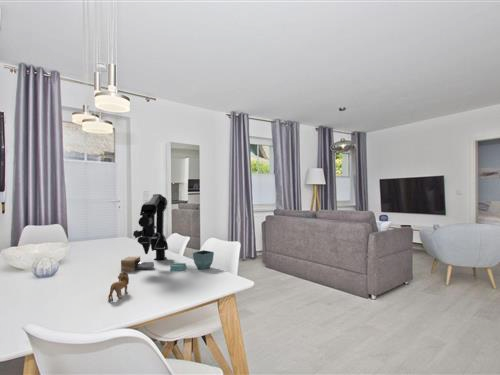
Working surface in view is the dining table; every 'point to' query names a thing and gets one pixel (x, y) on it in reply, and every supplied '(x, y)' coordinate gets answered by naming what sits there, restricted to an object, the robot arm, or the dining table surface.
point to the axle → (144, 265)
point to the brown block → (129, 263)
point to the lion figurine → (119, 285)
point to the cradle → (178, 267)
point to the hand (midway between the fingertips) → (149, 252)
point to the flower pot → (203, 259)
